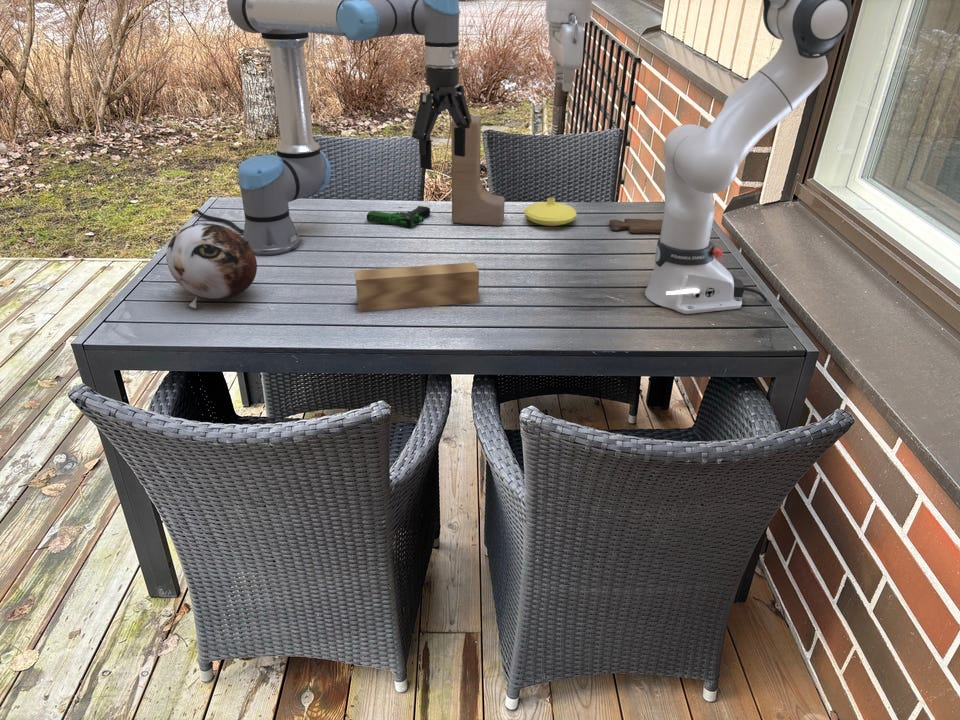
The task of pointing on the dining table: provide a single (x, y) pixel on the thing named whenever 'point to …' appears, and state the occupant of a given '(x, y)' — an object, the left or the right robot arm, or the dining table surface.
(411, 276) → the bar
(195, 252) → the cat face balloon
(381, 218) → the handgun
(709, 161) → the right robot arm
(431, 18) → the left robot arm
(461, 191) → the decorative block
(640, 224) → the dark wooden board
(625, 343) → the dining table surface
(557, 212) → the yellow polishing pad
